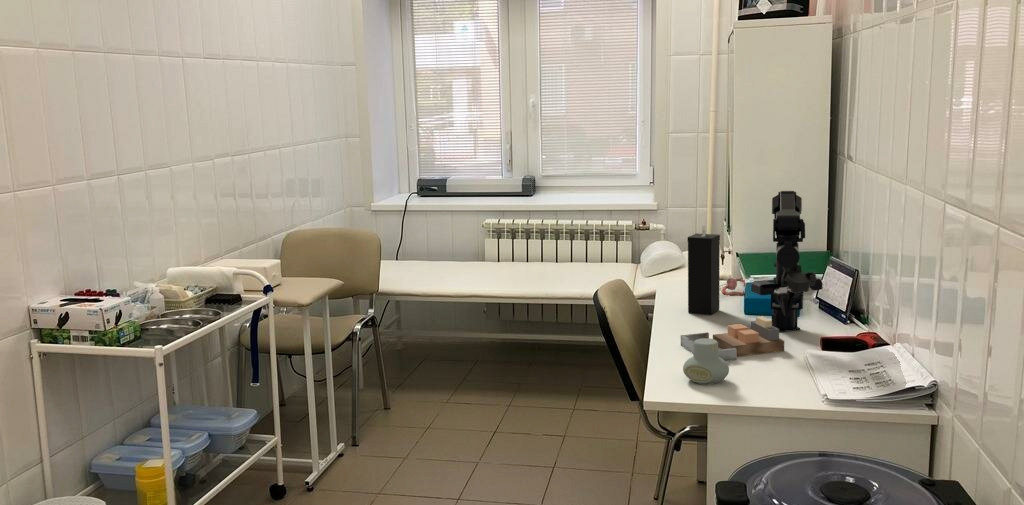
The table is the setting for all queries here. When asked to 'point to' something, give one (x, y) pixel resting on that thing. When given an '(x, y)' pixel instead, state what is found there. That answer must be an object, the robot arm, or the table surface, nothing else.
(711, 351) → the air freshener
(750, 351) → the board
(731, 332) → the tile
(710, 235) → the tall black pillar
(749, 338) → the tile
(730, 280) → the pink ball with cord
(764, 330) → the grey and beige block
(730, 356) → the tray
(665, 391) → the table surface
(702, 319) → the table surface
